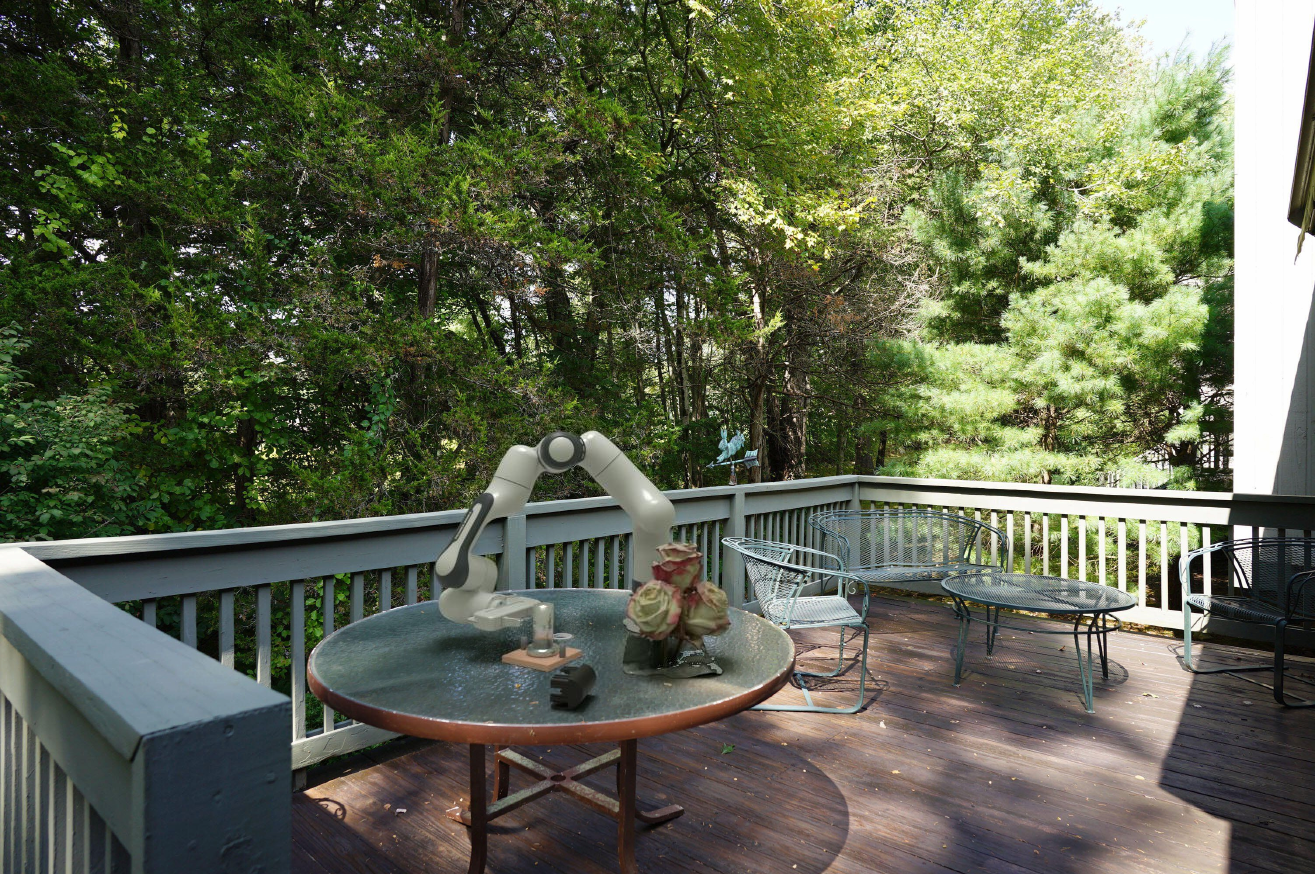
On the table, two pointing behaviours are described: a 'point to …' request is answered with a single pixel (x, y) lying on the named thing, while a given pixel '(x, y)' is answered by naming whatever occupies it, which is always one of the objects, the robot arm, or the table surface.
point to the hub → (542, 632)
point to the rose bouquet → (674, 615)
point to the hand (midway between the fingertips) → (533, 618)
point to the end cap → (572, 686)
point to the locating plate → (541, 664)
